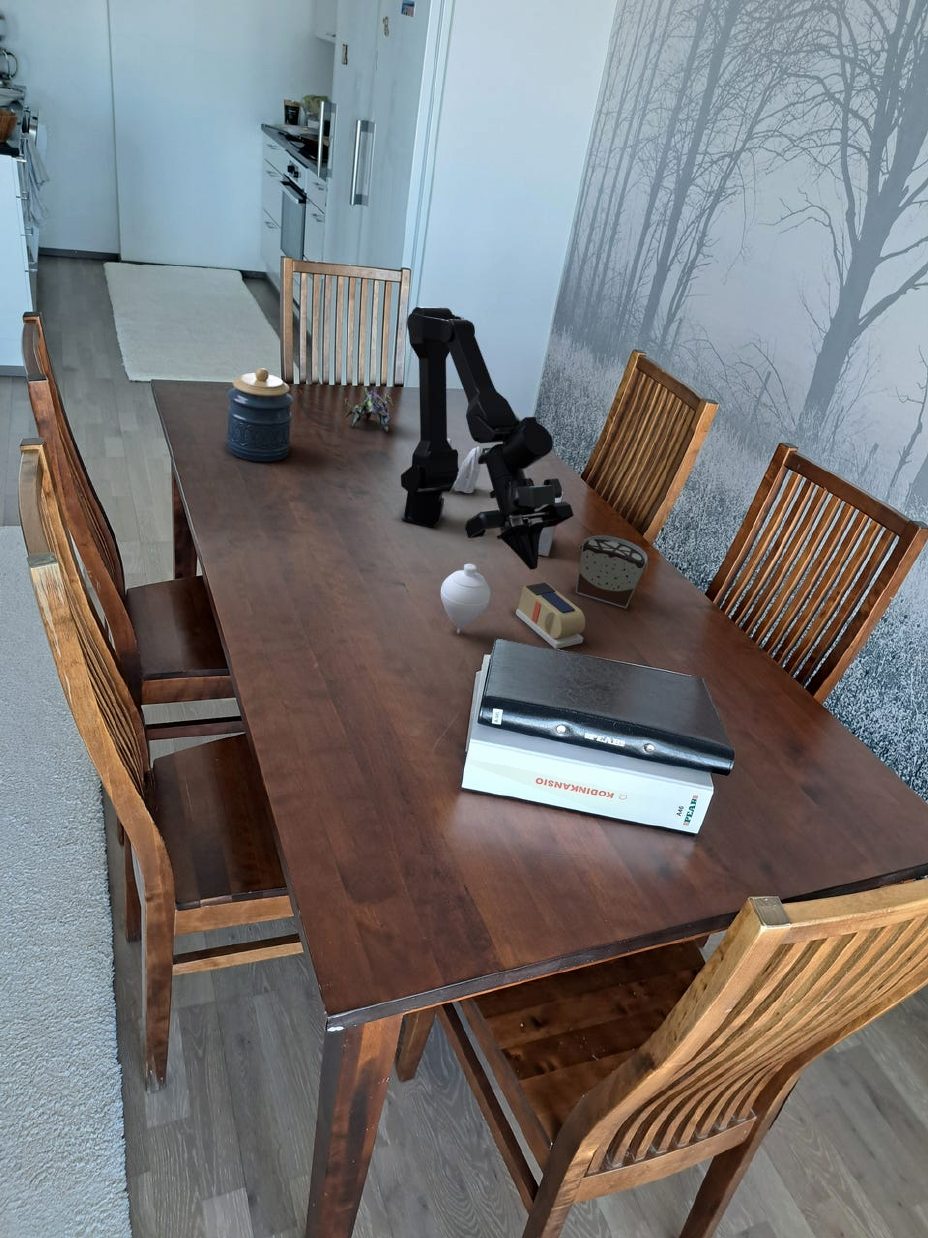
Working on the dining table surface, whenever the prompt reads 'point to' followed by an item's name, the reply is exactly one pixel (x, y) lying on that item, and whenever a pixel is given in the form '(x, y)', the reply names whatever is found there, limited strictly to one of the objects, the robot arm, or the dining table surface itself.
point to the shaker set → (468, 471)
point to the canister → (259, 417)
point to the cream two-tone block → (551, 615)
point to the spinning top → (465, 595)
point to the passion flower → (372, 408)
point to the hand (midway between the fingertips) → (534, 568)
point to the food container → (610, 569)
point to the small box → (547, 534)
